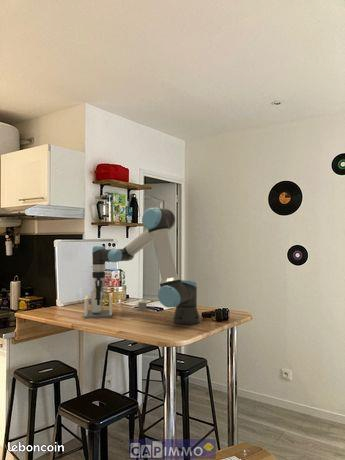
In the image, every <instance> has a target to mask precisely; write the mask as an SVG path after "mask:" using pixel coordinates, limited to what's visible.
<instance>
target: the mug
mask: <svg viewBox="0 0 345 460" xmlns="http://www.w3.org/2000/svg"><path fill="white" fill-rule="evenodd" d="M95 298H96V290H93V291H90V305H91V306H90V310H91V312H102V309H103V307H104V306H105V305H106V302H107V296H106V293H105V292H103V291H102V290H101V310H99V311H96V300H95ZM103 298H104V299H103ZM103 300H104V301H103Z"/></svg>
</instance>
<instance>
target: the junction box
mask: <svg viewBox="0 0 345 460" xmlns="http://www.w3.org/2000/svg"><path fill="white" fill-rule="evenodd" d="M137 303H138V304H137V308H138V311H141V312H143V311H147V301H146V300H145V301H142V300H141V301H138V302H137Z"/></svg>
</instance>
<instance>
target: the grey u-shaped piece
mask: <svg viewBox="0 0 345 460" xmlns="http://www.w3.org/2000/svg"><path fill="white" fill-rule="evenodd" d="M83 302H84V305H83V307H84V309H83V311H84V313H83V319H85V320H86V319H87V320H88V319H90V318H92V319H112V318H113V294H110V295H109V299H108V302H109V304H108V305H109V306H108V307H109V308H104V309H103V308H102V312H91V309H89V303H90V302H89V295H85V296H84V298H83ZM90 320H91V319H90Z"/></svg>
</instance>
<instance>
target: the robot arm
mask: <svg viewBox="0 0 345 460" xmlns="http://www.w3.org/2000/svg"><path fill="white" fill-rule="evenodd" d="M175 223H176V216H175V213H174V212H173V211H172V210H170V209H169V208H162V207H161V208H159V207H156V206H155V207H149V208H147V209H145V211H144V212H143V214H142V216H141V224H142V225H143V227H144V228H145V230H144V231H143V232H141V233H140V234H139V235H138V236H137V237H135V238H134V239H133V240H132V241H131V242H129V243H128V244H127V245H126V246H124V248H115V249H114V248H113V249H111V248H110V249H108V248H107V249H106V247H105V246H104V245H96V246H95V245H94V246H93V247H92V257H91V258H92V265H91V268H92V275H91V276H92V278H93V279H96V280H95V291H96V298H95V300H96V311H99V310H101V291H102V287H103V280H102V279H104V278H105V277H106V272H105V271H106V263H107V262H108V263H118V262H130V261H132V260H133V259H135V255H136V254H137V253H139V252H140V251H141V250H143V249H144V248H146V247H147V246H148V245H149V244H151V243H152V242H153V246H154V247H153V248H154V252H155V256H156V260H157V265H158V269H159V274H160V278H161V279H160V280H161V281H160V282H159V290H158V293H157V298H158V301H159V302H160V304H161V305H162V306H164V307H165V308H168V309H169V308H175V309H174V314H173V317H172V322H173V323H175V324H178V325H196V324H199V323H201V317H200V313H199V310H198V308H197V307H198V306H197V305H198V303H197V301H198V300H197V299H198V297H197V296H198V295H197V292H198V291H197V290H198V289H197V288H198V287H197V282H196V281H195V280H183V279H181V278H180V277H178V273H177V269H176V265H175V260H174V257H173V256H174V255H173V251H172V248H171V247H172V246H171V241H170V238H169V234H168V233H169V231H170V230H171V229H172V228H173V227H174V226H175Z"/></svg>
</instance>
